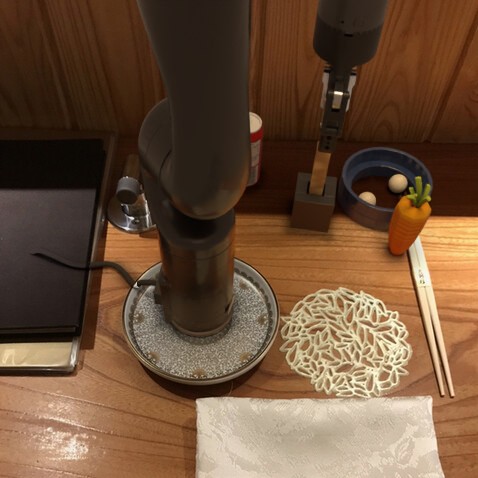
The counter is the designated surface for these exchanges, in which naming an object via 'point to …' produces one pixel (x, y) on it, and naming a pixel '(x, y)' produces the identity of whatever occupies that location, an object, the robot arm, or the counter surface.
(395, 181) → the bead
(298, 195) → the stick holder
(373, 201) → the bead
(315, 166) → the stick
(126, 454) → the counter surface
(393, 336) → the counter surface
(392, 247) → the carrot
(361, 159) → the bowl
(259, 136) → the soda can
